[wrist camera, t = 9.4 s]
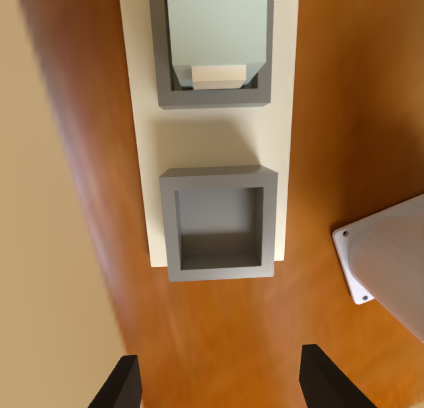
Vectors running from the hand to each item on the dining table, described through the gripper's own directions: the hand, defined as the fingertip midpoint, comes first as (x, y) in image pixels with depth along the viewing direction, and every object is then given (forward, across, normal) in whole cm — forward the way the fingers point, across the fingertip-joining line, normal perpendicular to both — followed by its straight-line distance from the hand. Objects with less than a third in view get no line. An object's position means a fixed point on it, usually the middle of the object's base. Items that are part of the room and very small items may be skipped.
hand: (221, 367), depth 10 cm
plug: (+9, 0, -15) cm, 17 cm away
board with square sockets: (+10, 0, -10) cm, 14 cm away
